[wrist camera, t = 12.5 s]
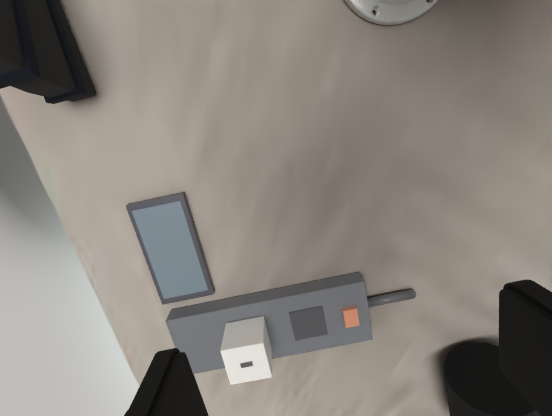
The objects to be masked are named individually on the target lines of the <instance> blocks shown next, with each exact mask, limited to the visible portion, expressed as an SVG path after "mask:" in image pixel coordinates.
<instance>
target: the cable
mask: <svg viewBox="0 0 552 416" xmlns="http://www.w3.org/2000/svg"><path fill="white" fill-rule="evenodd" d="M444 375H445V382H446V389H447V396H448V403H449V410H450V416H541V415H540V414H539V413H538V412H537V411H536V410H535V409H534V408H533V407H532V406H531V404H530V403H529V402H528V401H527V400H526V399H525V398H524V397H523V396H522V395H521V394H520V393H519V392H518V390H517V389H516V388H515V387H514V386H513V385H512V384H511V383H510V382H509V381H508V380H507V379H506V377H505V376H504V375H503V373H502V371H501V369H500V366H499V346H496V345H492V344H488V343H467V344H464V345H460V346H457V347H455V348H454V349H453V350H452V351H450V352H449V354H448V356H447V357H446V359H445V366H444Z"/></svg>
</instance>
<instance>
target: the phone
mask: <svg viewBox="0 0 552 416" xmlns="http://www.w3.org/2000/svg"><path fill="white" fill-rule="evenodd" d="M126 208H127V210H128V213H129V216H130V218H131V221H132V224H133V227H134V229H135V232H136V235H137V237H138V240H139V243H140V245H141V248H142V251H143V254H144V256H145V259H146V262H147V264H148V267H149V270H150V272H151V275H152V278H153V280H154V283H155V286H156V289H157V291H158V294H159V297H160V299H161V302H162V305H163V304H168V303H173V302H178V301H183V300H188V299H193V298H198V297H203V296H208V295H213V294H214V291H215V290H214V286H213V283H212V280H211V277H210V273H209V270H208V267H207V264H206V260H205V257H204V254H203V251H202V247H201V244H200V241H199V238H198V234H197V231H196V228H195V225H194V221H193V218H192V215H191V212H190V208H189V205H188V202H187V199H186V195H185V192H181V193H176V194H172V195H167V196H162V197H158V198H153V199H148V200H144V201H139V202H134V203H129V204H128V205H126Z"/></svg>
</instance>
